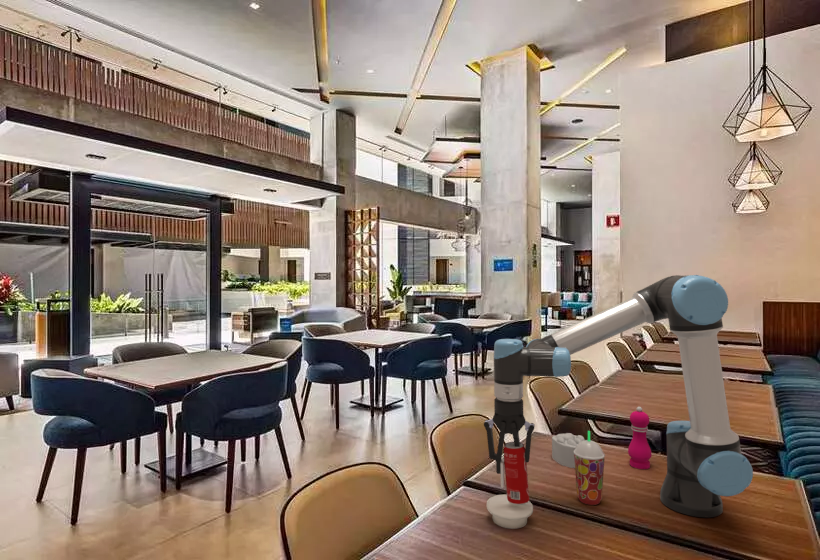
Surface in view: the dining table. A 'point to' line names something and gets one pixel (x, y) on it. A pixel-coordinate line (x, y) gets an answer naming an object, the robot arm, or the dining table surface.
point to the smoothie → (589, 471)
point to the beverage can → (516, 474)
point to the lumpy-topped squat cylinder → (565, 448)
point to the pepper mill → (639, 440)
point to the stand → (508, 512)
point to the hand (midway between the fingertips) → (509, 486)
